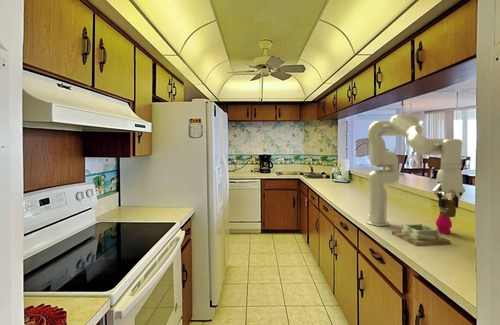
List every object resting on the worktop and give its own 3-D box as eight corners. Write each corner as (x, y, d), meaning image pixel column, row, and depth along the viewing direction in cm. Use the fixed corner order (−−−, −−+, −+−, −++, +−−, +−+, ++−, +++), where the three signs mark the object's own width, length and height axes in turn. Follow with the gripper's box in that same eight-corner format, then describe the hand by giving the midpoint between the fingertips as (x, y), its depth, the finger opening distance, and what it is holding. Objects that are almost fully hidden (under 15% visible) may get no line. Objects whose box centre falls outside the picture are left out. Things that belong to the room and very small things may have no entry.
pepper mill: (445, 230, 162) (447, 193, 161) (455, 234, 155) (456, 196, 154) (432, 230, 162) (433, 193, 161) (441, 234, 155) (442, 196, 154)
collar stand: (391, 233, 156) (392, 223, 155) (423, 232, 158) (423, 222, 158) (415, 245, 138) (415, 233, 138) (450, 243, 140) (450, 232, 140)
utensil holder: (449, 214, 137) (450, 188, 136) (459, 217, 131) (460, 190, 130) (436, 214, 137) (438, 188, 136) (446, 217, 131) (447, 190, 130)
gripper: (460, 166, 137) (458, 205, 139) (426, 166, 135) (424, 205, 136) (475, 167, 130) (472, 208, 131) (439, 167, 128) (437, 209, 129)
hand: (448, 206), depth 134 cm, fingers closed on utensil holder, 5 cm apart
